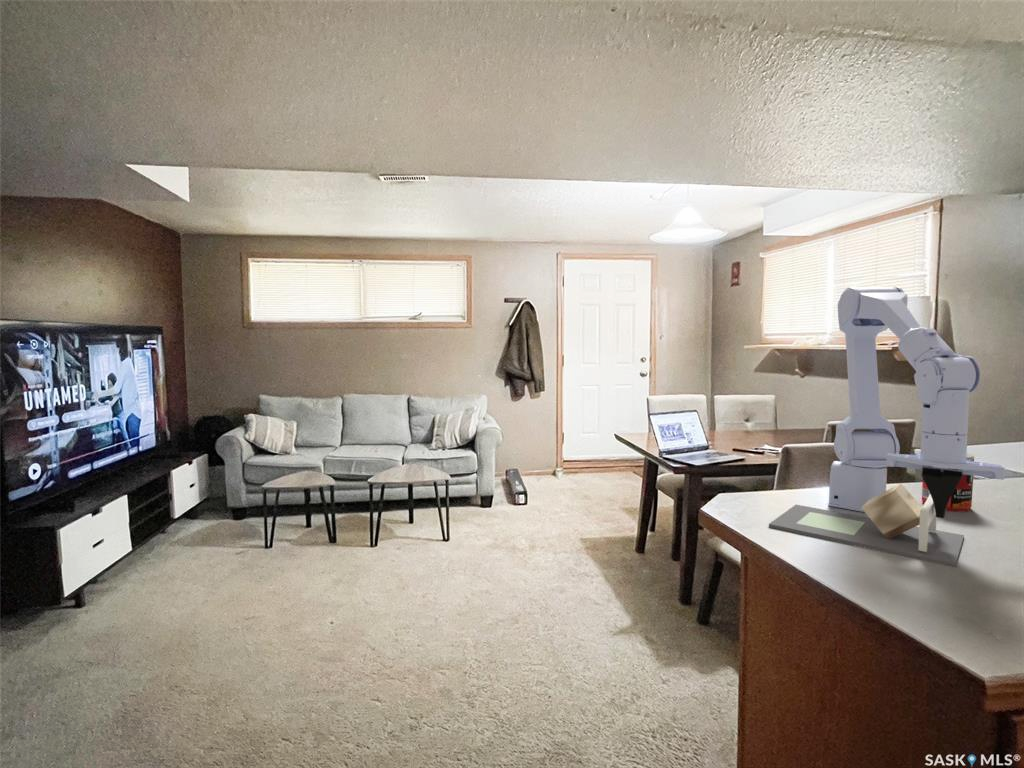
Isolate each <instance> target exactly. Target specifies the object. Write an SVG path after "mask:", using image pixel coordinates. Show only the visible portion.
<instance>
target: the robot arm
mask: <svg viewBox="0 0 1024 768" xmlns="http://www.w3.org/2000/svg"><path fill="white" fill-rule="evenodd" d="M837 318H838V327H839V331H840V332H842V333H844V334H845V335H844V337H845V349H846V351H845V352H846V365H847V380H848V398H849V401H848V402H849V415H848V416H846V417H845V419H843V420H841V421H840V422H839V423H837V424H836V427H835V438H834V440H833V447H834V448H833V449H834V453H835V455H836V457H837V458H838V459H839V461H838V460H833V462H832V463H831V466H830V471H829V487H828V488H829V489H828V490H829V492H828V503H827V506H829V507H833V508H839V509H845V510H851V511H856V512H862V513H865V512H864V511H863V509H862V508H861V507H862V506H863V505H864V504H865V503H866V502H867V501H868V500H870V499H872V498H874V497H876V496H877V495H879V494H881V493H883V492H885V491H887V476H888V467H891V468H892V467H893V468H894V467H897V468H898V467H900V468H906V469H907V468H908V469H914V470H915V469H916V470H922V471H921V473H920V474H921V477H922V481H923V480H924V482H925V484H926V486H927V488H928V490H929V492H930V494H931V497H932V500H933V503H934V507H935V512H936V517H937V518H939V519H944V518H945V516H946V512H947V510H946V508H947V504H948V502H949V499H950V497H951V495H952V493H953V492H954V490H955V489H956V487H957V486H958V484H959V483H960V481H961V479H962V477H963V474H965V475H973V477H983V478H990V479H991V478H992V479H994V480H1000V481H1002V480H1003V481H1004V479H1005V468H1006V467H1005V465H1004V464H997V463H995V464H994V463H989V462H981V461H975V460H974V461H970V460H966V455H967V451H968V433H969V430H968V429H969V412H970V411H969V408H970V393H972V392H974V391H976V389H978V386H979V384H980V382H981V378H982V377H981V368H980V365H979V363H978V362H977V361H976V359H975V358H974V357H973V356H970V355H962V353H956V352H955V351H954V350H953V349H952V348H951V347H950V346H949V345H948V344H947V342H945V341H944V339H942V337H941V336H940V335H939V333H938V331H937V330H936V329H935V328H930V327H923V326H921V325H920V324H919V322H918V321H917V320H916V318H915V317H914V315H913V313H912V312H911V311H910V309H909V308H908V294H907V293H905V290H903V288H902V287H901V286H891V287H890V286H888V287H887V286H886V287H885V286H884V287H853V286H851V287H850V286H849V287H846V288H845V290H844V291H843V292H842V293H841V295H840V297H839V300H838V302H837ZM888 329H889V330H890V332H892V333H893V334H894V335H895V336H896V337H897V338H898V339H899V341H898V343H897V344H898V345H897V348H898V350H899V352H900V353H901V354H902V355H903V357H904V358H905V359H906V360H907V362H908V364H910V366H911V367H912V369H914V371H915V373H914V375H913V378H914V383H915V387H916V388H917V392H918V397H917V398H918V400H919V401H918V402H919V403H920V404H921V403H922V406H921V407H922V408H921V410H922V411H921V430H920V431H921V432H920V434H921V435H920V454H918V455H917V454H902V453H900V449H901V447H900V442H899V441H900V440H899V439H898V437H897V434H896V429H895V424H894V423H892V422H891V421H889V420H888V419H886V418H885V417H883V416H882V414H881V405H880V404H881V401H880V387H879V372H878V370H879V369H878V358H877V356H878V355H877V344H876V342H877V341H876V338H877V337H878V335H879V334H880V333H882V332H885V331H887V330H888ZM855 430H856V431H855ZM857 430H861V431H857ZM862 430H873V431H862ZM928 466H931V467H928ZM955 469H958V470H955Z"/></svg>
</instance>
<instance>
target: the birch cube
mask: <svg viewBox="0 0 1024 768" xmlns="http://www.w3.org/2000/svg"><path fill="white" fill-rule="evenodd" d="M922 507H923V505H921V504H920V503H919V502H918V500H916V499H915V498H914V496H913V495H912V494H911V492H909V491H908V489H907V488H906V487H905V485H903V484H902V482H900V483H899V484H897V485H895V486H893V487H891V488H889V489H886V491H885V492H883V493H881V494H879V495H877V496H876V497H874V498H872V499H870V500H868V501H867V502H866V503H865V504H864V505H863V506H862V507H861V508H862V509H863V511H864V512H863V513H865V514H866V516H867V518H870V519H871V520H872V521H873V523H874V524H875V525H876V526H877V527H878V529H879V530H880V531H881V532H882V533H883V535H884V536H885V537H886V538H887V539H890V538H892V537H894V536H896V535H898V534H901V533H903V532H905V531H907V530H909V529H911V528H913V527H919V525H920V510H921V509H922Z"/></svg>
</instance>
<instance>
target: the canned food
mask: <svg viewBox="0 0 1024 768" xmlns="http://www.w3.org/2000/svg"><path fill="white" fill-rule="evenodd" d="M966 460H970V461H975V455H973V454H972V453H967V455H966ZM928 467H931V466H928ZM955 470H958V469H955ZM973 486H974V476H973V475H965V474H963V477H962V479H961V481H960V483H959V484H958V486H957V487H956V489H955V490H954V492H953V493H952V495H951V497H950V499H949V502H948V504H947V508H946V511H947V510H948V511H949V512H957V511H964V512H969V511H971V508H972V505H973V504H972V503H973V488H974V487H973ZM921 488H922V489H921V501H922V504H923V505H924V504H925V502H926V500H927V499H928V497H929V495H930V492H929V490H928V488H927V486H926V484H925V482H924V480H923V479H922V485H921ZM968 510H969V511H968Z"/></svg>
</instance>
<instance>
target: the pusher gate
mask: <svg viewBox="0 0 1024 768" xmlns="http://www.w3.org/2000/svg"><path fill="white" fill-rule="evenodd" d="M937 519H938V517H936V512H935V507H934V503H933V500H932V497H931V494H930V495H929V497H928V499H927V500H926V502H925V504H923V505H922V509H921V510H920V525H918V527H919V546H918V550H919V551H924V552H927V545H928V531H933V532H936V530H937V523H938V522H937V521H938V520H937Z"/></svg>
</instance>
